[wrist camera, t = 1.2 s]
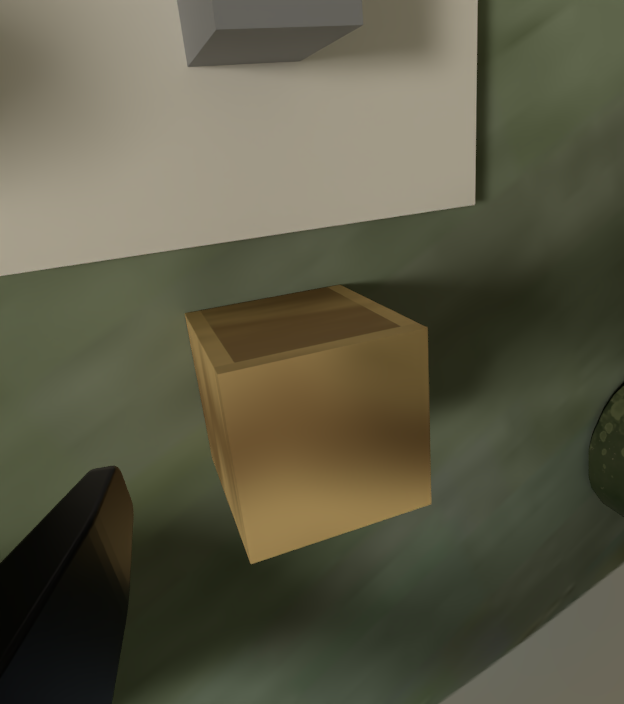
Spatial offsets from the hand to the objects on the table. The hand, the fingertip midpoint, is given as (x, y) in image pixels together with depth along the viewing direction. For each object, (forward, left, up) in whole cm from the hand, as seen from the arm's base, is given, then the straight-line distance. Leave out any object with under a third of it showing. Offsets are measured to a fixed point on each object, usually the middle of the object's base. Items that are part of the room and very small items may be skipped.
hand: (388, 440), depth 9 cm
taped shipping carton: (-4, -1, -13) cm, 14 cm away
